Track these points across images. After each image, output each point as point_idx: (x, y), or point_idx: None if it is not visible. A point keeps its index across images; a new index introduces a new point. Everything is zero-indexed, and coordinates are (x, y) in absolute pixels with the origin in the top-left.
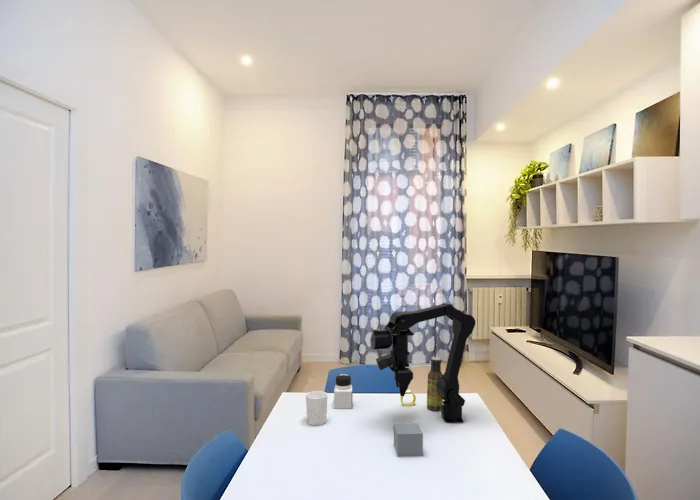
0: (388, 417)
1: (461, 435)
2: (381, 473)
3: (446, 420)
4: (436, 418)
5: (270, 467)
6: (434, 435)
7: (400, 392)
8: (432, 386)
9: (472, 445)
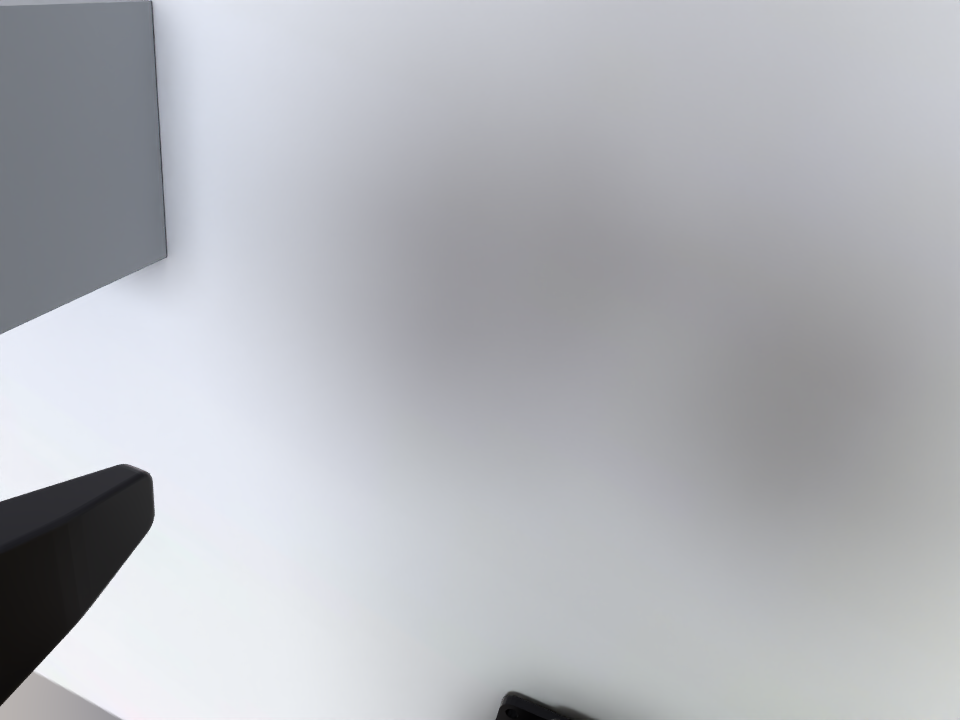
0: (921, 244)
1: (283, 634)
2: None
3: (520, 715)
4: (632, 690)
5: None
6: (303, 474)
7: (9, 504)
8: None
9: (146, 595)
